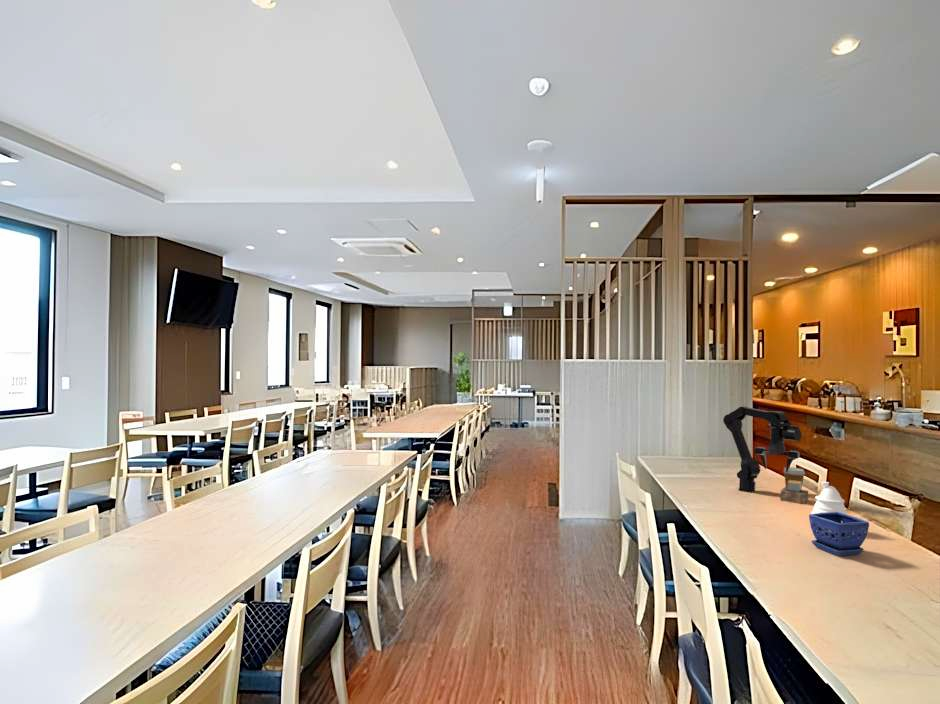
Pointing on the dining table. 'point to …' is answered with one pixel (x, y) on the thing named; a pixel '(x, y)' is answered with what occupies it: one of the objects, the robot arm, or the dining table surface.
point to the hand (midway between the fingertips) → (776, 470)
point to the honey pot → (829, 501)
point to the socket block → (794, 496)
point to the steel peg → (794, 486)
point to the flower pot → (838, 532)
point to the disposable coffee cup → (793, 475)
